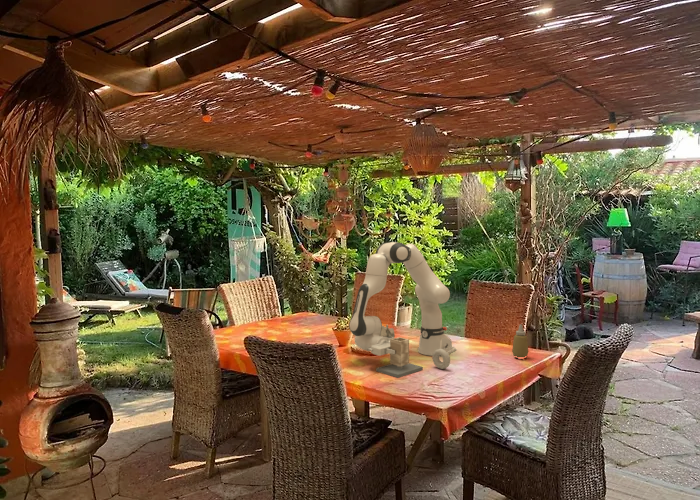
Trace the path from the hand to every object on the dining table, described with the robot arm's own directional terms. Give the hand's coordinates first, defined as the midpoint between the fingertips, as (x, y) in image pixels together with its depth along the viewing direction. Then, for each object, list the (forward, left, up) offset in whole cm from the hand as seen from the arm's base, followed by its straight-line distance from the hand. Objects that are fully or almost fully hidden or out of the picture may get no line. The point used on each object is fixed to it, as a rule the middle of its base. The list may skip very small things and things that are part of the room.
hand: (400, 350), depth 248 cm
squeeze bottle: (-62, +28, -10) cm, 69 cm away
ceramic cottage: (-34, -45, -10) cm, 57 cm away
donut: (-17, +11, -10) cm, 23 cm away
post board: (0, -1, -10) cm, 10 cm away
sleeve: (0, -1, -7) cm, 7 cm away
